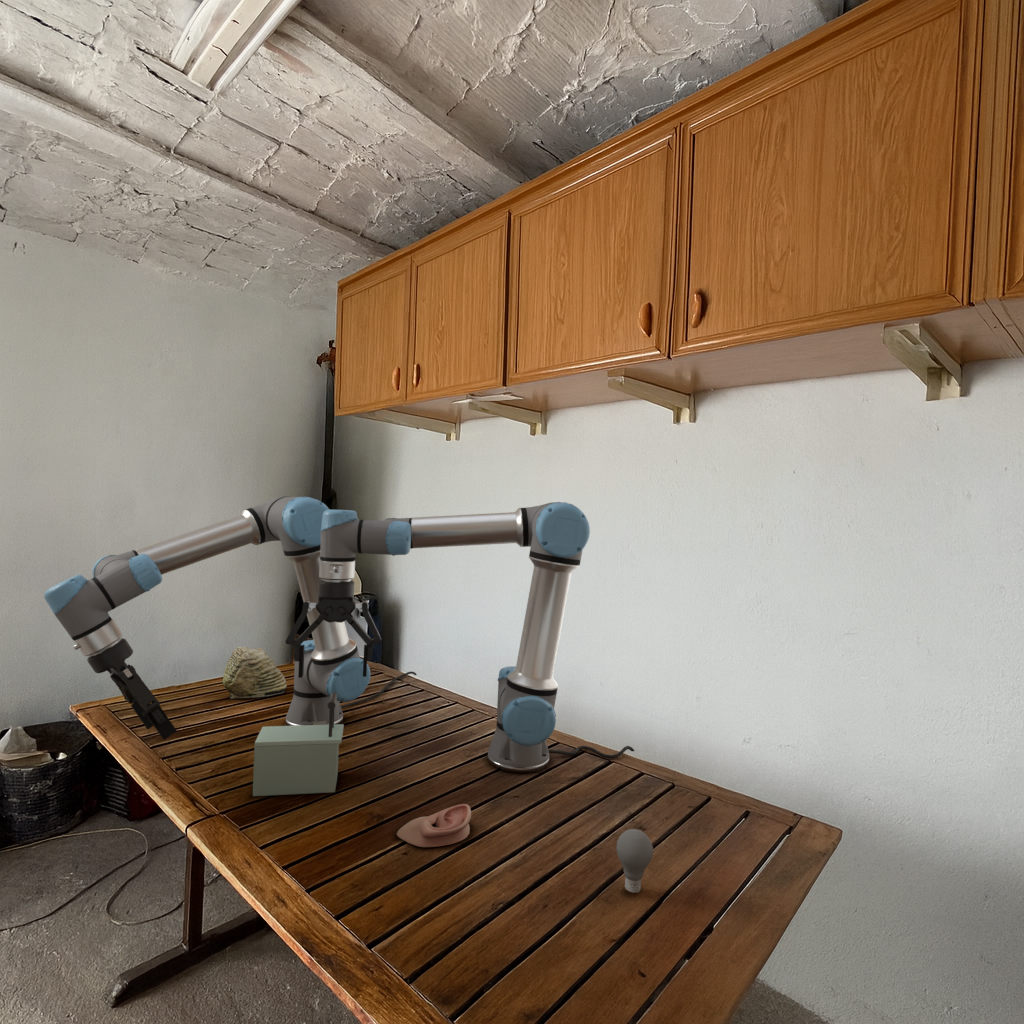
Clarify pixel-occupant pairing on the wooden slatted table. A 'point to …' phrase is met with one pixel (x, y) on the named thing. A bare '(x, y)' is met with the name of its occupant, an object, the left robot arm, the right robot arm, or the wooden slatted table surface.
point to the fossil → (252, 674)
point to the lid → (303, 732)
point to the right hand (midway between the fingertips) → (333, 675)
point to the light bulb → (634, 857)
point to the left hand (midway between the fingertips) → (161, 730)
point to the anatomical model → (438, 827)
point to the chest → (295, 769)
